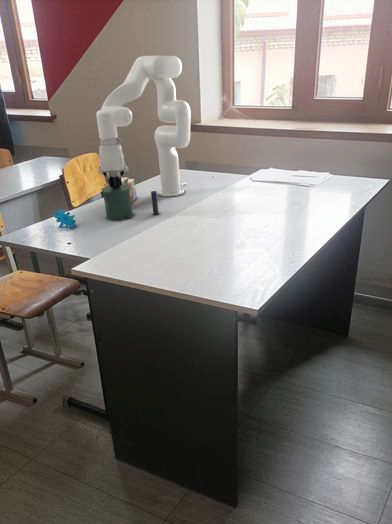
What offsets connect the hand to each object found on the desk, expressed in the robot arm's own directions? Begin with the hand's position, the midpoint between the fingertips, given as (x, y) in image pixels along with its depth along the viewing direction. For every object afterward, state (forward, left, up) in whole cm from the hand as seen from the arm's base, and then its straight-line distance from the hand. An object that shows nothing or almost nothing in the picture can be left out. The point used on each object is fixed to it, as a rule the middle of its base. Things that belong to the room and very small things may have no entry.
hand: (115, 186), depth 220 cm
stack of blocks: (-13, -14, -13) cm, 23 cm away
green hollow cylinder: (0, 0, -13) cm, 13 cm away
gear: (+23, -7, -13) cm, 28 cm away
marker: (-12, +11, -13) cm, 21 cm away
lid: (0, 0, -2) cm, 2 cm away
